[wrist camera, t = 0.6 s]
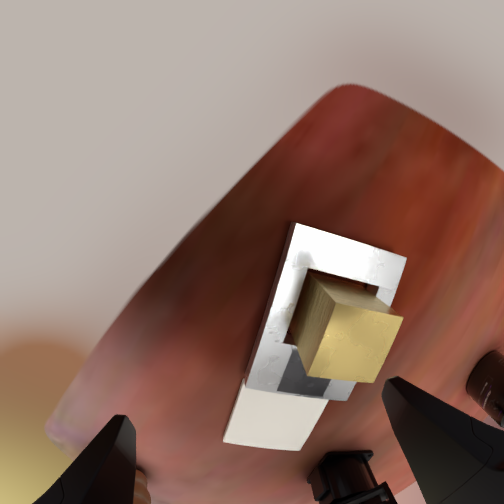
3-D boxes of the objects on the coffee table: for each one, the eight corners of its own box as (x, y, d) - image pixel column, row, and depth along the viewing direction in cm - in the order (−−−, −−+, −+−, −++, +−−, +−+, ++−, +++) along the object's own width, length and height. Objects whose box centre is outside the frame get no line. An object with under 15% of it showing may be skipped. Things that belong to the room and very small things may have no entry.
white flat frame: (394, 253, 21) (407, 258, 19) (339, 388, 23) (346, 401, 21) (291, 221, 20) (296, 223, 18) (244, 373, 22) (244, 388, 20)
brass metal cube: (359, 284, 21) (403, 317, 14) (340, 336, 22) (373, 382, 15) (307, 270, 21) (336, 302, 14) (288, 326, 22) (306, 375, 15)
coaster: (328, 391, 23) (330, 396, 22) (298, 445, 24) (299, 450, 23) (243, 378, 22) (243, 383, 21) (223, 436, 24) (222, 441, 23)
